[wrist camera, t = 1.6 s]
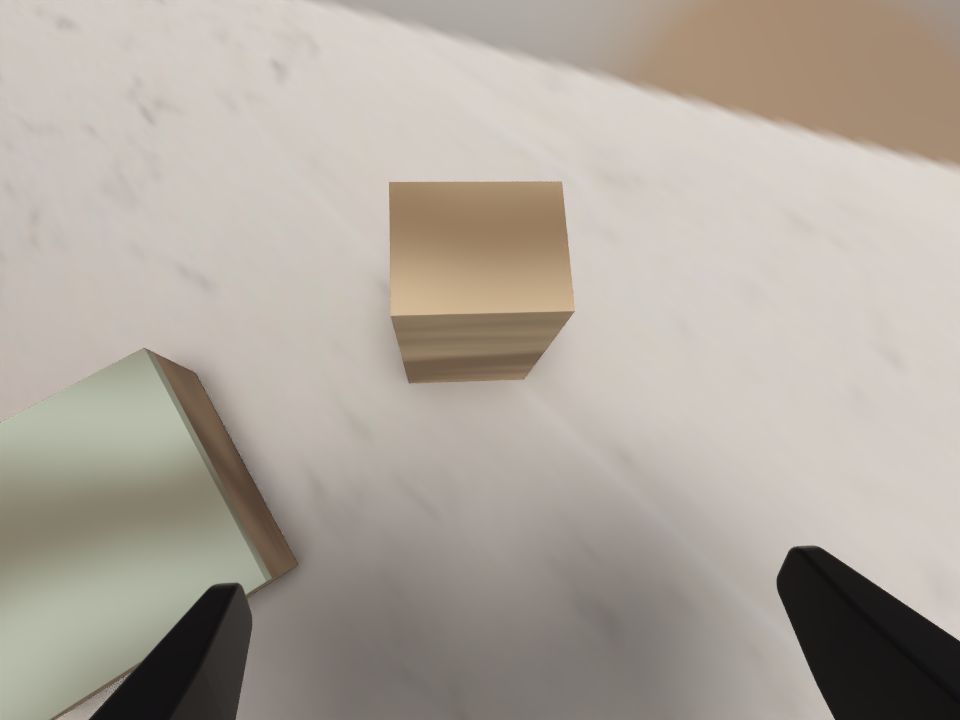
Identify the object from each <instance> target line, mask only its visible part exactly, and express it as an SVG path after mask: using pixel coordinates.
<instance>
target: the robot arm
mask: <svg viewBox="0 0 960 720" xmlns="http://www.w3.org/2000/svg"><path fill="white" fill-rule="evenodd" d="M777 589H778V593H779V595H780V598H781V600H782V603H783V605H784V607H785V610H786V612H787V615H788V617H789V619H790V622H791V624H792V627H793V629H794V631H795V634H796V636H797V639H798V641H799V643H800V646H801V648H802V651H803V653H804V656H805V658H806V660H807V663H808V665H809V668H810V670H811V672H812V674H813V677H814V679H815V681H816V683H817V685H818V687H819V689H820V691H821V693H822V695H823V697H824V699H825V701H826V703H827V705H828V707H829V709H830V711H831V713H832V715H833V717H834V719H835V720H960V641H959V640H957V639H956V638H954V637H953V636H952V635H950V634H949V633H947V632H946V631H944V630H943V629H941V628H940V627H938V626H937V625H935V624H934V623H932V622H931V621H929V620H928V619H926V618H925V617H923V616H922V615H920V614H919V613H917V612H916V611H914V610H913V609H911V608H910V607H908V606H907V605H905V604H904V603H902V602H901V601H900V600H898V599H897V598H895V597H894V596H892V595H891V594H889V593H888V592H886V591H885V590H883V589H882V588H880V587H879V586H877V585H876V584H874V583H873V582H871V581H870V580H868V579H867V578H865V577H864V576H862V575H861V574H859V573H858V572H856V571H855V570H853V569H852V568H851V567H849V566H848V565H846V564H845V563H843V562H842V561H840V560H839V559H837V558H836V557H834V556H833V555H831V554H830V553H828V552H827V551H825V550H824V549H822V548H820V547H818V546H812V545H811V546H796V547H793V548H791V549H790V550H789V552H788V554H787V556H786V558H785V560H784V563H783V565H782V567H781V569H780V571H779V574H778V576H777ZM251 631H252V614H251V611H250V608H249V604H248V601H247V598H246V595H245V592H244V589H243V587H242V585H241V584H240V583H236V582H235V583H220V584H214V585H212V586H211V587H209V588H208V589H207V590H206V591H205V592H204V594H203V595H202V596H201V597H200V598H199V599H198V600H197V601H196V602H195V603H194V605H193V606H192V607H191V608H190V609H189V610H188V611H187V612H186V613H185V614H184V616H183V617H182V618H181V619H180V620H179V621H178V622H177V623H176V624H175V625H174V627H173V628H172V629H171V630H170V631H169V632H168V633H167V634H166V635H165V636H164V638H163V639H162V640H161V641H160V642H159V643H158V644H157V645H156V646H155V647H154V649H153V650H152V651H151V652H150V653H149V654H148V655H147V656H146V657H145V658H144V660H143V661H142V662H141V663H140V664H139V665H138V666H137V667H136V668H135V669H134V671H133V672H132V673H131V674H130V675H129V676H128V677H127V678H126V679H125V680H124V682H123V683H122V684H121V685H120V686H119V687H118V688H117V689H116V690H115V691H114V693H113V694H112V695H111V696H110V697H109V698H108V699H107V700H106V701H105V702H104V704H103V705H102V706H101V707H100V708H99V709H98V710H97V711H96V712H95V713H94V715H93V716H92V717H91V718H90V719H89V720H236V714H237V709H238V703H239V698H240V692H241V687H242V681H243V675H244V670H245V664H246V659H247V653H248V648H249V642H250V637H251Z"/></svg>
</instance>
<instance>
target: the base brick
mask: <svg viewBox="0 0 960 720" xmlns="http://www.w3.org/2000/svg"><path fill="white" fill-rule="evenodd" d="M296 566H298V563H297V562H296V560H295V558H294V556H293V554H292V552H291V550H290V549H289V547H288V545H287V543H286V541H285V539H284V537H283V535H282V534H281V532H280V530H279V528H278V526H277V524H276V522H275V521H274V519H273V517H272V515H271V513H270V511H269V509H268V508H267V506H266V504H265V502H264V500H263V498H262V496H261V494H260V493H259V491H258V489H257V487H256V485H255V483H254V481H253V480H252V478H251V476H250V474H249V472H248V470H247V468H246V466H245V465H244V463H243V461H242V459H241V457H240V455H239V453H238V452H237V450H236V448H235V446H234V444H233V442H232V440H231V439H230V437H229V435H228V433H227V431H226V429H225V427H224V425H223V424H222V422H221V420H220V418H219V416H218V414H217V412H216V411H215V409H214V407H213V405H212V403H211V401H210V399H209V397H208V396H207V394H206V392H205V390H204V388H203V386H202V384H201V383H200V381H199V379H198V377H197V375H196V373H194V372H192V371H190V370H188V369H186V368H184V367H182V366H180V365H178V364H176V363H174V362H172V361H170V360H168V359H166V358H164V357H162V356H160V355H158V354H156V353H154V352H152V351H150V350H148V349H146V348H143V349H141V350H139V351H137V352H135V353H133V354H131V355H129V356H127V357H126V358H124V359H122V360H120V361H118V362H116V363H114V364H112V365H110V366H108V367H106V368H104V369H102V370H101V371H99V372H97V373H95V374H93V375H91V376H89V377H87V378H85V379H83V380H81V381H79V382H77V383H75V384H74V385H72V386H70V387H68V388H66V389H64V390H62V391H60V392H58V393H56V394H54V395H52V396H50V397H49V398H47V399H45V400H43V401H41V402H39V403H37V404H35V405H33V406H31V407H29V408H27V409H25V410H24V411H22V412H20V413H18V414H16V415H14V416H12V417H10V418H8V419H6V420H4V421H2V422H0V720H55V719H57V718H59V717H60V716H62V715H64V714H65V713H67V712H69V711H70V710H72V709H74V708H75V707H77V706H78V705H80V704H81V703H83V702H84V701H86V700H88V699H89V698H91V697H92V696H94V695H95V694H97V693H99V692H100V691H102V690H103V689H105V688H106V687H108V686H110V685H111V684H113V683H114V682H116V681H117V680H119V679H121V678H122V677H124V676H125V675H127V674H128V673H130V672H131V671H133V670H134V669H135V668H136V667H137V666H138V665H139V664H140V663H141V662H142V661H143V660H144V658H145V657H146V656H147V655H148V654H149V653H150V652H151V651H152V650H153V649H154V647H155V646H156V645H157V644H158V643H159V642H160V641H161V640H162V639H163V638H164V636H165V635H166V634H167V633H168V632H169V631H170V630H171V629H172V628H173V627H174V625H175V624H176V623H177V622H178V621H179V620H180V619H181V618H182V617H183V616H184V614H185V613H186V612H187V611H188V610H189V609H190V608H191V607H192V606H193V605H194V603H195V602H196V601H197V600H198V599H199V598H200V597H201V596H202V595H203V594H204V592H205V591H206V590H207V589H208V588H209V587H211V586H212V585H214V584H220V583H235V582H236V583H240V584H241V585H242V587H243V589H244V592H245V595H246V598H247V597H249V596H251V595H252V594H254V593H255V592H257V591H258V590H260V589H261V588H263V587H265V586H266V585H268V584H269V583H271V582H272V581H274V580H276V579H277V578H279V577H280V576H282V575H283V574H285V573H287V572H288V571H290V570H291V569H293V568H294V567H296Z"/></svg>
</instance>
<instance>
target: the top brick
mask: <svg viewBox="0 0 960 720" xmlns="http://www.w3.org/2000/svg"><path fill="white" fill-rule="evenodd" d="M389 203H390V286H391V318H392V322H393V326H394V329H395V333H396V337H397V340H398V344H399V348H400V352H401V355H402V359H403V363H404V367H405V370H406V374H407V378H408V381H409V383H431V382H459V381H487V380H516V379H524V378H525V377H526V376H527V374H528V373H529V372H530V370H531V369H532V368H533V366H534V365H535V364H536V362H537V361H538V360H539V358H540V357H541V356H542V354H543V353H544V352H545V350H546V349H547V348H548V346H549V345H550V344H551V342H552V341H553V340H554V338H555V337H556V336H557V334H558V333H559V332H560V330H561V329H562V328H563V326H564V325H565V324H566V322H567V321H568V320H569V318H570V317H571V316H572V314H573V313H574V312H575V309H574V299H573V288H572V278H571V268H570V258H569V248H568V238H567V228H566V218H565V208H564V198H563V188H562V182H389Z"/></svg>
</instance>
